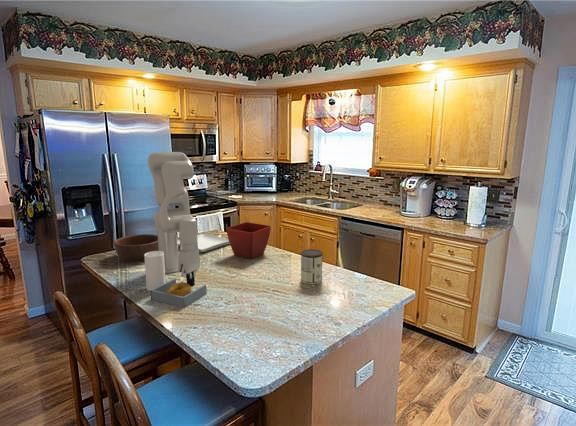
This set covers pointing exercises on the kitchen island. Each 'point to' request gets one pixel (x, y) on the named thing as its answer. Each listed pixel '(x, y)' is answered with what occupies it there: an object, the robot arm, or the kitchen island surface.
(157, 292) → the box
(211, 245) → the square plate
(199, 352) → the kitchen island surface
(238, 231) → the plant pot
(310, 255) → the coffee can
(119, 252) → the wooden bowl
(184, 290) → the bagel
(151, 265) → the cup
